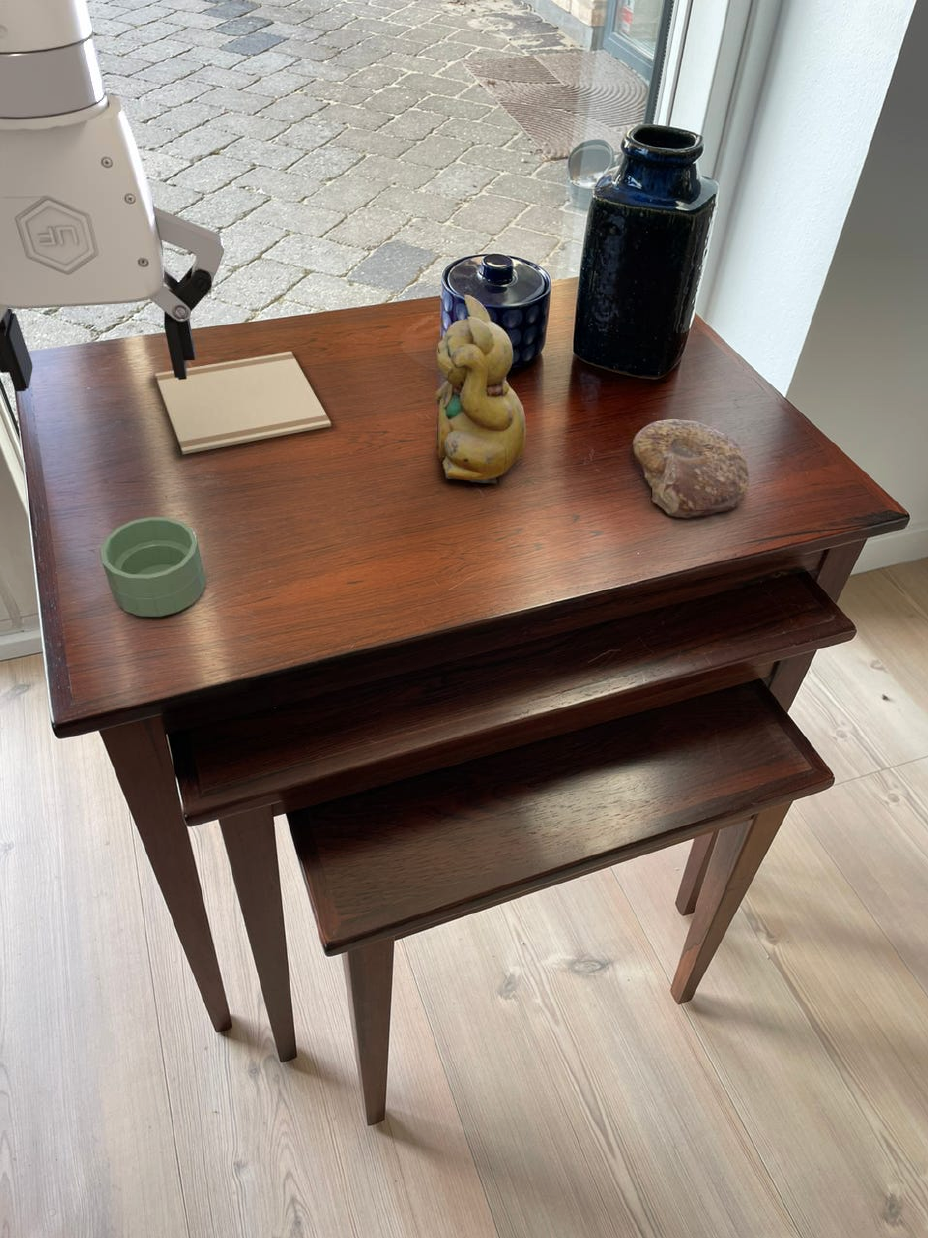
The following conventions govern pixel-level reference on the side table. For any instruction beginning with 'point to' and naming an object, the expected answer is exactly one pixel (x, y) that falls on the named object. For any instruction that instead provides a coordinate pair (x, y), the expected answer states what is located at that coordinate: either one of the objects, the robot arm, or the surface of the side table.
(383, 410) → the side table surface
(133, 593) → the bowl
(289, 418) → the cloth
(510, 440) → the decorative figurine
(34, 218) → the robot arm
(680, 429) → the fossil
